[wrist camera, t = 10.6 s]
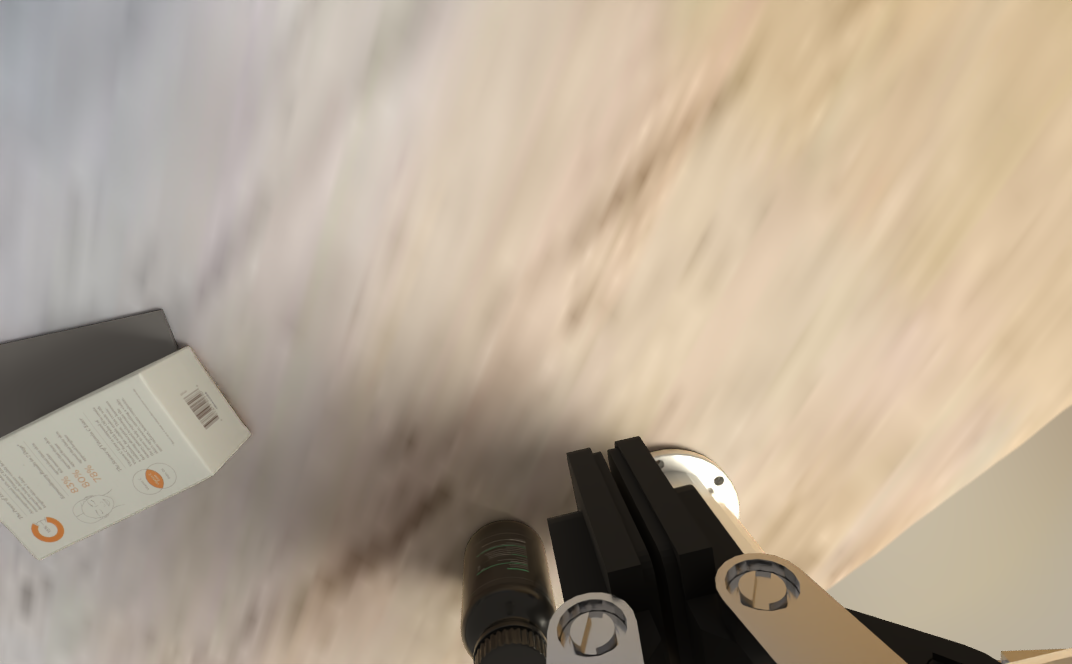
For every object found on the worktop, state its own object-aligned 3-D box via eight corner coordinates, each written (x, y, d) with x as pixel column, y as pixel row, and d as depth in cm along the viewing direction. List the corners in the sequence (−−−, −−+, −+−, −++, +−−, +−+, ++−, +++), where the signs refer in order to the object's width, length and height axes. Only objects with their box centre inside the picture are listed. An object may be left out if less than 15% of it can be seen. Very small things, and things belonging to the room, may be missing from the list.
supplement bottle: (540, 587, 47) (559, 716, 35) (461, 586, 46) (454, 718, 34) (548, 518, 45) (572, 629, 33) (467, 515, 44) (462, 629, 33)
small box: (191, 343, 38) (28, 421, 38) (138, 371, 32) (-56, 464, 32) (254, 435, 41) (100, 509, 41) (216, 477, 34) (34, 564, 34)
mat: (222, 459, 41) (220, 461, 41) (36, 502, 40) (33, 504, 40) (162, 309, 38) (160, 310, 37) (-41, 353, 37) (-45, 354, 37)
